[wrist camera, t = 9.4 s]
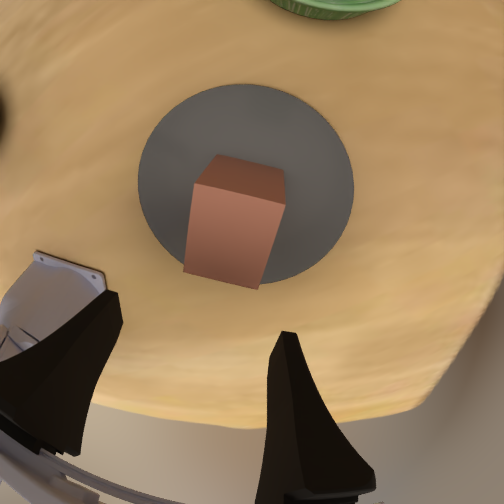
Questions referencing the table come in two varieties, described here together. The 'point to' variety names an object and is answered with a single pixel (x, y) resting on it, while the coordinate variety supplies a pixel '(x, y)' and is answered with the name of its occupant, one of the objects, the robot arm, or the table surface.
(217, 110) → the plate
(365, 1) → the ramekin
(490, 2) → the table surface
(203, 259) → the block
